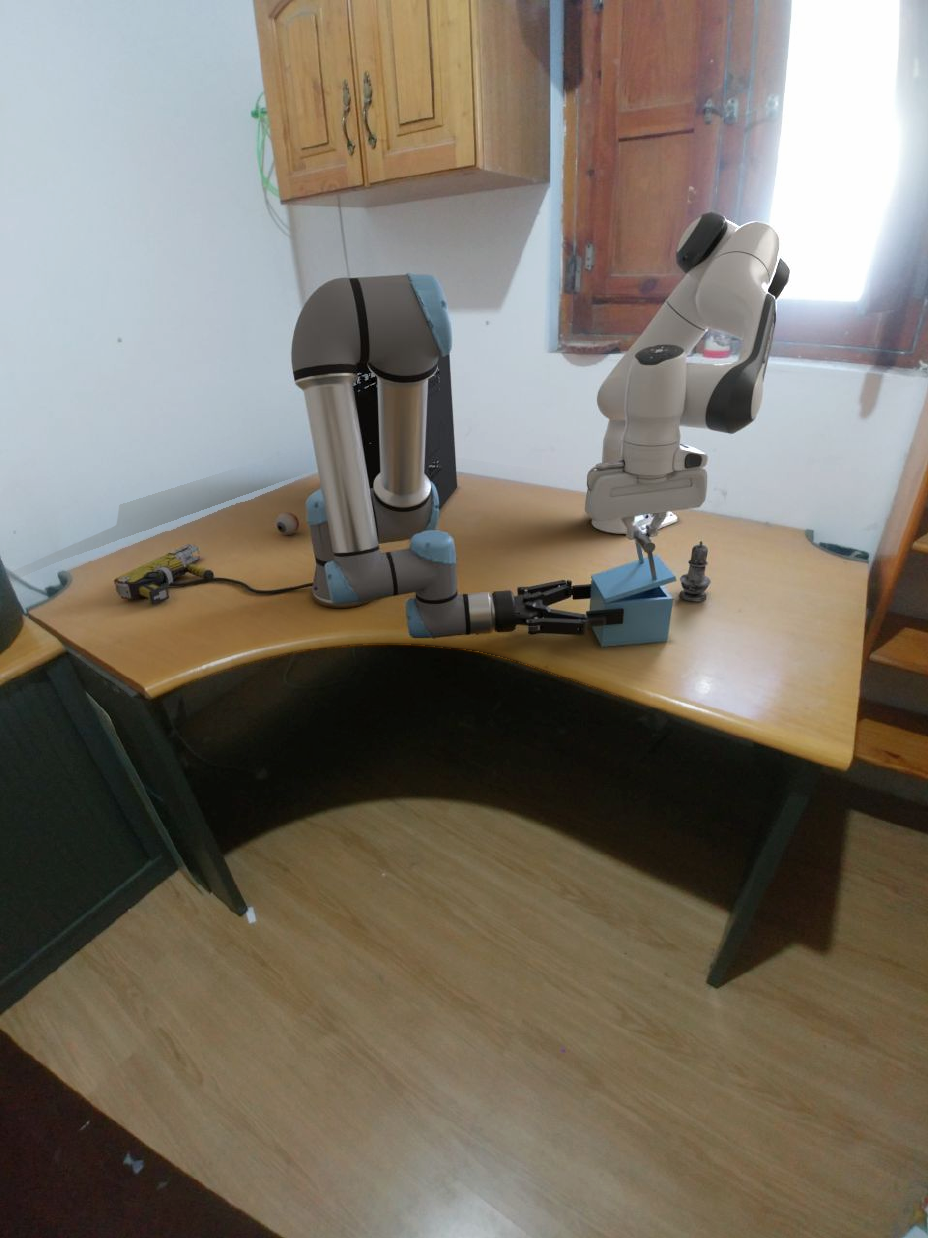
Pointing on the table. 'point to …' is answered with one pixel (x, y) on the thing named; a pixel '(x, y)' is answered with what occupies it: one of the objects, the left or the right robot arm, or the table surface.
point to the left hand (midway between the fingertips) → (614, 602)
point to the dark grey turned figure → (696, 576)
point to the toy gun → (160, 575)
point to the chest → (635, 617)
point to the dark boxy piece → (437, 428)
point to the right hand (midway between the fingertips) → (641, 537)
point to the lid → (634, 573)
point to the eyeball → (287, 523)
